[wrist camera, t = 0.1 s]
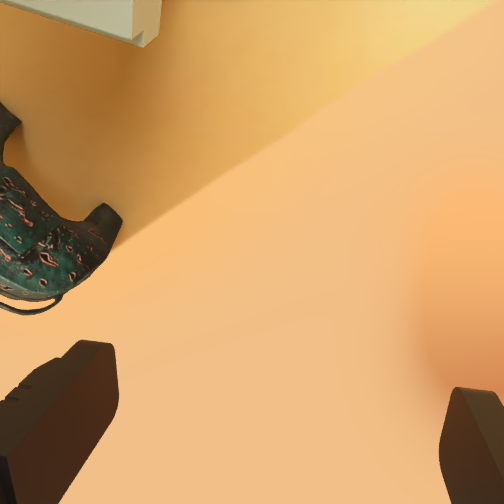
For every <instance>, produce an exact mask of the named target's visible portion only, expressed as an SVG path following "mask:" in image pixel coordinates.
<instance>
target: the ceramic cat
mask: <svg viewBox="0 0 504 504" xmlns="http://www.w3.org/2000/svg"><path fill="white" fill-rule="evenodd" d="M21 122H22V121H20V120H19V119H18V118H17V117H16V116H14V115H13V114H11V113H10V112H9V111H8V110H7V109H6V108H5V107H4V106H3V105H2V104H1V103H0V294H1V295H3V296H5V297H7V298H10V299H14V300H25V301H29V302H39V301H46V300H49V299H52V298H53V299H55V302H53V303H52V304H51V305H49V306H47V307H44V308H40V309H32V310H21V309H16V308H14V307H11V306H9V305H7V304H4V303H2V302H0V308H2V309H5V310H7V311H10V312H13V313H16V314H20V315H35V314H38V313H42V312H44V311H47V310H48V309H50V308H52V307H53V306H55V305H56V304H57V303H59V302H60V301H61V300H62V297H63V295H64V294H65V293H66V292H68V291H69V290H70V289H72V288H74V287H76V286H77V285H79V284H80V283H81V282H83V281H84V280H86V279H87V278H88V277H90V275H91V274H92V273H93V272H94V271H95V270H96V269H97V268H98V267H99V266H100V265H101V264H102V263H103V262H104V261H105V259H106V258H107V256H108V254H109V252H110V250H111V248H112V245H113V243H114V241H115V239H116V237H117V234H118V232H119V230H120V228H121V225H122V222H123V221H122V219H121V217H120V216H119V215H118V214H117V213H116V212H115V211H114V210H113V209H112V208H111V207H110V206H109V205H107V204H105V203H102V204H101V205H100V206H98V207H97V208H95V209H94V210H93V211H92V212H91V213H90V215H89V216H88V217H87V218H86V219H85V220H84V221H80V222H76V221H70V220H67V219H64V218H62V217H60V216H59V215H58V214H57V213H56V212H55V211H54V210H53V209H52V208H51V207H49V205H48V204H47V203H46V202H45V201H44V200H43V199H42V198H41V197H40V196H39V194H38V193H37V192H36V191H35V190H34V188H33V187H32V186H31V185H30V184H29V183H28V182H27V181H26V180H25V179H24V178H23V177H22V176H21V175H20V173H19V172H18V171H16V170H15V169H14V168H12V167H8V166H6V165H5V164H4V163H3V149H4V144H5V141H6V140H7V138H8V137H9V135H10V134H11V133H12V132H13V130H14V129H15V128H16V127H17V126H18V125H20V124H21Z"/></svg>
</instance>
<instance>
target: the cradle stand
mask: <svg viewBox="0 0 504 504" xmlns="http://www.w3.org/2000/svg"><path fill="white" fill-rule="evenodd" d="M0 3H3V4H6V5H9V6H13V7H16V8H19V9H22V10H25V11H28V12H31V13H35V14H38V15H41V16H44V17H47V18H50V19H53V20H57V21H60V22H63V23H66V24H69V25H72V26H75V27H79V28H82V29H85V30H88V31H91V32H94V33H97V34H101V35H104V36H107V37H110V38H113V39H116V40H119V41H123V42H126V43H129V44H132V45H135V46H138V47H141V48H143V47H144V46H146V45H147V44H148V43H149V42H150V41H152V40H153V39H154V38H155V37H156V36H157V35H159V28H160V17H161V6H162V0H0Z"/></svg>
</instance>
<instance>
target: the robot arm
mask: <svg viewBox="0 0 504 504" xmlns="http://www.w3.org/2000/svg"><path fill="white" fill-rule="evenodd" d="M118 401H119V389H118V379H117V368H116V358H115V350H114V347H113V345H112V344H111V343H104V342H96V341H88V340H80V341H78V342H76V343H75V344H74V345H73V346H72V347H71V348H70V349H69V350H68V351H67V352H66V353H65V354H64V356H62V357H61V358H54V359H52V360H50V361H48V362H47V363H45V364H43V365H41V366H39V367H38V368H36V369H34V370H33V371H32V372H31V373H30V374H29V375H28V376H27V377H26V378H25V379H24V380H22V382H20V383H19V386H18V387H15V388H14V389H13V390H12V391H11V392H10V393H9V394H8V395H7V396H6V397H5V400H1V401H0V504H58V503H59V502H60V500H61V499H62V497H63V495H64V494H65V492H66V491H67V489H68V488H69V486H70V485H71V483H72V482H73V480H74V479H75V477H76V476H77V474H78V472H79V471H80V469H81V468H82V466H83V465H84V463H85V461H86V460H87V459H88V457H89V456H90V454H91V452H92V451H93V449H94V448H95V446H96V445H97V443H98V442H99V440H100V439H101V437H102V436H103V434H104V432H105V431H106V429H107V428H108V426H109V425H110V423H111V422H112V420H113V418H114V416H115V413H116V410H117V407H118ZM439 461H440V468H441V472H442V475H443V478H444V482H445V485H446V487H447V491H448V494H449V497H450V501H451V504H504V406H503V405H502V403H501V401H500V400H499V398H498V396H497V395H496V393H494V392H493V391H486V390H478V389H469V388H462V387H455V388H454V389H453V391H452V393H451V397H450V401H449V405H448V409H447V413H446V417H445V421H444V425H443V429H442V433H441V437H440V443H439Z"/></svg>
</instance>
